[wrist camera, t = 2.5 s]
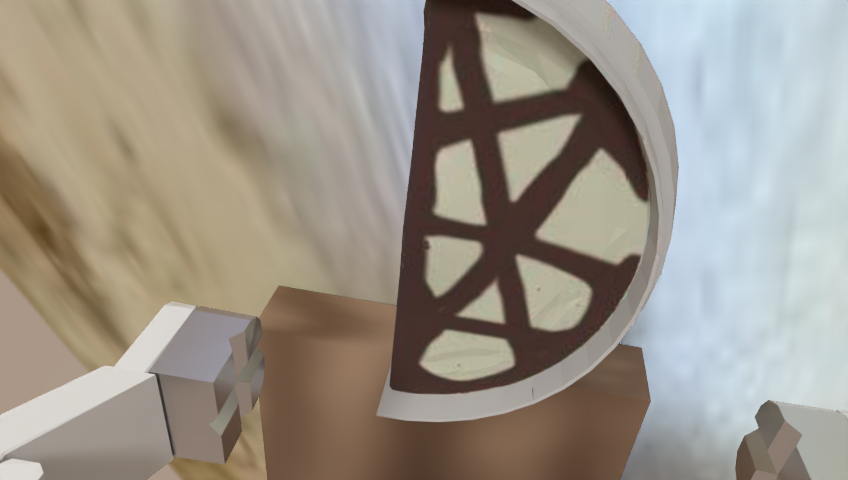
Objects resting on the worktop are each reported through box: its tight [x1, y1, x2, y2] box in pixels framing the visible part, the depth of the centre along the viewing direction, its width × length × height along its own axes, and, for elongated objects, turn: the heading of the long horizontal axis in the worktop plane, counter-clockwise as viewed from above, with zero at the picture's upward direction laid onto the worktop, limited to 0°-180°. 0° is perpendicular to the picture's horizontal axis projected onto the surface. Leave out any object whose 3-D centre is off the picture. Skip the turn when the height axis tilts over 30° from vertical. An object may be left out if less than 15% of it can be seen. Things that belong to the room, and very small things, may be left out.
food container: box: [376, 0, 679, 422], centre depth 17 cm, size 12×6×10 cm, turn 174°
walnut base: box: [257, 286, 651, 480], centre depth 30 cm, size 16×16×3 cm
